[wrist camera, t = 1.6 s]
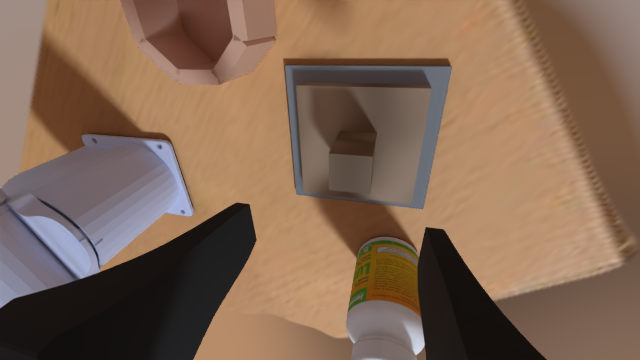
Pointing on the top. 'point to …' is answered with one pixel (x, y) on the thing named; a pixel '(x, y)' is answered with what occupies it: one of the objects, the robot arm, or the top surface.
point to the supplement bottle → (385, 302)
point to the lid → (362, 138)
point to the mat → (374, 75)
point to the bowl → (203, 36)
